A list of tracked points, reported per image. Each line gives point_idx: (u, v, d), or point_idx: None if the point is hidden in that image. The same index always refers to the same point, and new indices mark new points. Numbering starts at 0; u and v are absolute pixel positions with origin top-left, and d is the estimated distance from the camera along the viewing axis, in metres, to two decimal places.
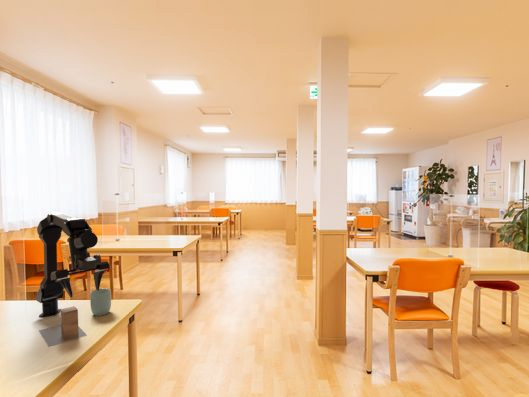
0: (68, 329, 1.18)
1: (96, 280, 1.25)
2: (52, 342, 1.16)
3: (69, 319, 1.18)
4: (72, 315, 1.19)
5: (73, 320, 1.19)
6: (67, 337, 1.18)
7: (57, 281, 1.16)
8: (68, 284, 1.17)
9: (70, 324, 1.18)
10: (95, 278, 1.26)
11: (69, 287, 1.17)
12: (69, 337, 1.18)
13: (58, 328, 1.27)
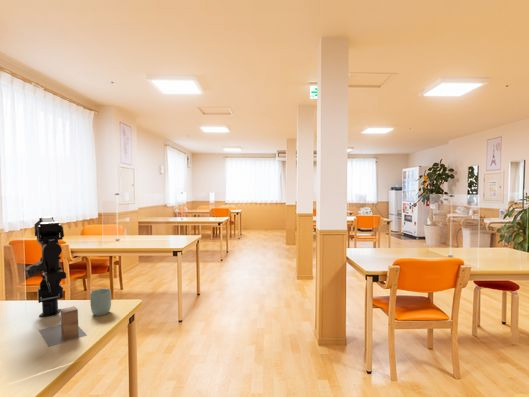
0: (68, 329, 1.18)
1: None
2: (52, 342, 1.16)
3: (69, 319, 1.18)
4: (72, 315, 1.19)
5: (73, 320, 1.19)
6: (67, 337, 1.18)
7: None
8: (46, 281, 1.30)
9: (70, 324, 1.18)
10: None
11: (47, 284, 1.30)
12: (69, 337, 1.18)
13: (58, 328, 1.27)
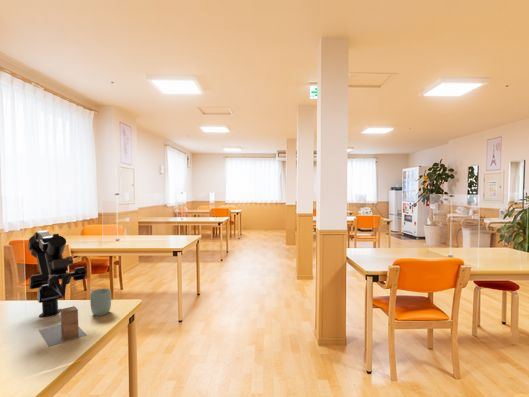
0: (68, 329, 1.18)
1: (62, 287, 1.27)
2: (52, 342, 1.16)
3: (69, 319, 1.18)
4: (72, 315, 1.19)
5: (73, 320, 1.19)
6: (67, 337, 1.18)
7: (48, 284, 1.26)
8: (58, 284, 1.26)
9: (70, 324, 1.18)
10: (61, 286, 1.28)
11: (59, 286, 1.26)
12: (69, 337, 1.18)
13: (58, 328, 1.27)
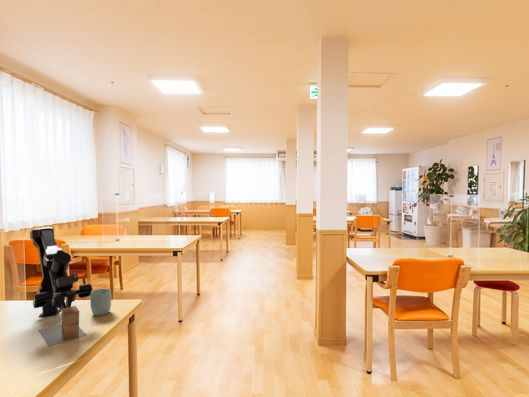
0: (68, 330, 1.17)
1: (67, 305, 1.23)
2: (52, 342, 1.16)
3: (70, 320, 1.17)
4: (73, 317, 1.18)
5: (74, 321, 1.18)
6: (67, 337, 1.18)
7: (53, 303, 1.22)
8: (63, 302, 1.22)
9: (71, 325, 1.18)
10: (66, 305, 1.24)
11: (64, 305, 1.22)
12: (69, 337, 1.18)
13: (58, 328, 1.27)
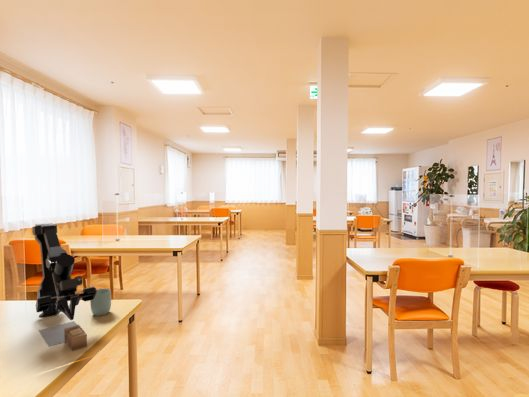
0: None
1: (70, 309, 1.19)
2: (52, 342, 1.16)
3: None
4: None
5: None
6: None
7: (56, 307, 1.18)
8: (66, 306, 1.18)
9: None
10: (70, 308, 1.20)
11: (68, 309, 1.18)
12: None
13: (58, 328, 1.27)
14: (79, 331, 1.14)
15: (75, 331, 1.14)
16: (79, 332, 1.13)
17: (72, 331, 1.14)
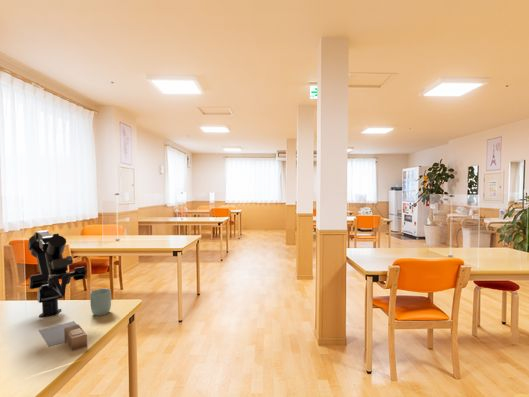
0: None
1: (62, 287, 1.27)
2: (52, 342, 1.16)
3: None
4: None
5: None
6: None
7: (48, 284, 1.26)
8: (58, 284, 1.26)
9: None
10: (61, 286, 1.28)
11: (59, 286, 1.26)
12: None
13: (58, 328, 1.27)
14: (79, 331, 1.14)
15: (75, 331, 1.14)
16: (79, 332, 1.13)
17: (72, 331, 1.14)
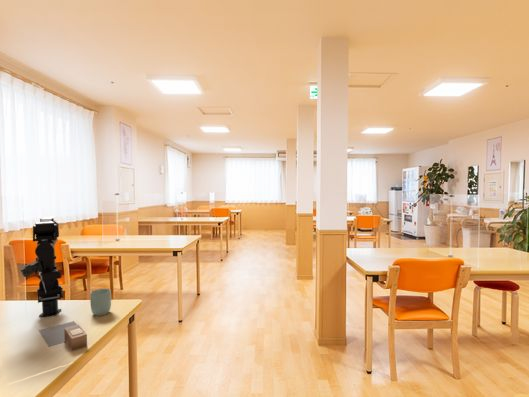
0: None
1: None
2: (52, 342, 1.16)
3: None
4: None
5: None
6: None
7: None
8: (42, 281, 1.30)
9: None
10: None
11: (43, 284, 1.30)
12: None
13: (58, 328, 1.27)
14: (79, 331, 1.14)
15: (75, 331, 1.14)
16: (79, 332, 1.13)
17: (72, 331, 1.14)
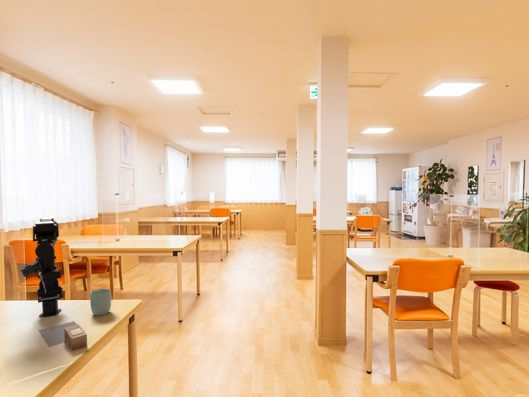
0: None
1: None
2: (52, 342, 1.16)
3: None
4: None
5: None
6: None
7: None
8: (42, 281, 1.30)
9: None
10: None
11: (43, 284, 1.30)
12: None
13: (58, 328, 1.27)
14: (79, 331, 1.14)
15: (75, 331, 1.14)
16: (79, 332, 1.13)
17: (72, 331, 1.14)
